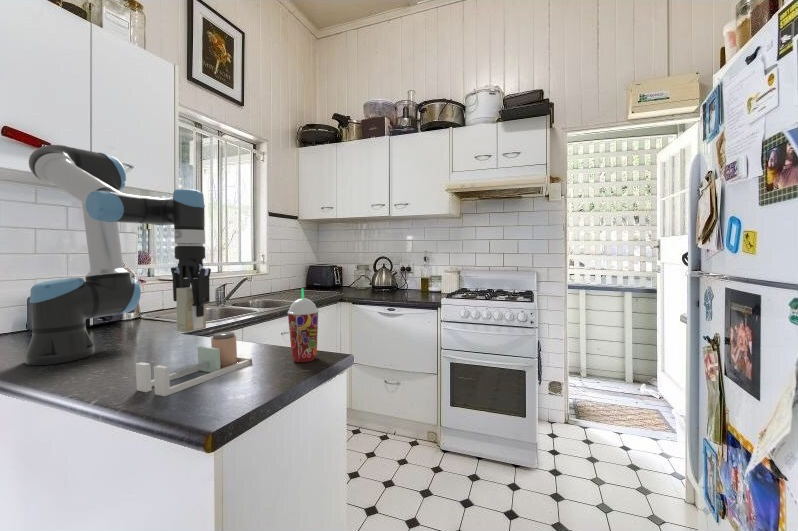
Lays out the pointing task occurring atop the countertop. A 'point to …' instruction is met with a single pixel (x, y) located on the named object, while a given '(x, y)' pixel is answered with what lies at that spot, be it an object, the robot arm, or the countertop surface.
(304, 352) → the smoothie
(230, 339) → the jar
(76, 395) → the countertop surface
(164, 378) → the lane
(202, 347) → the pusher
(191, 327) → the skincare box
